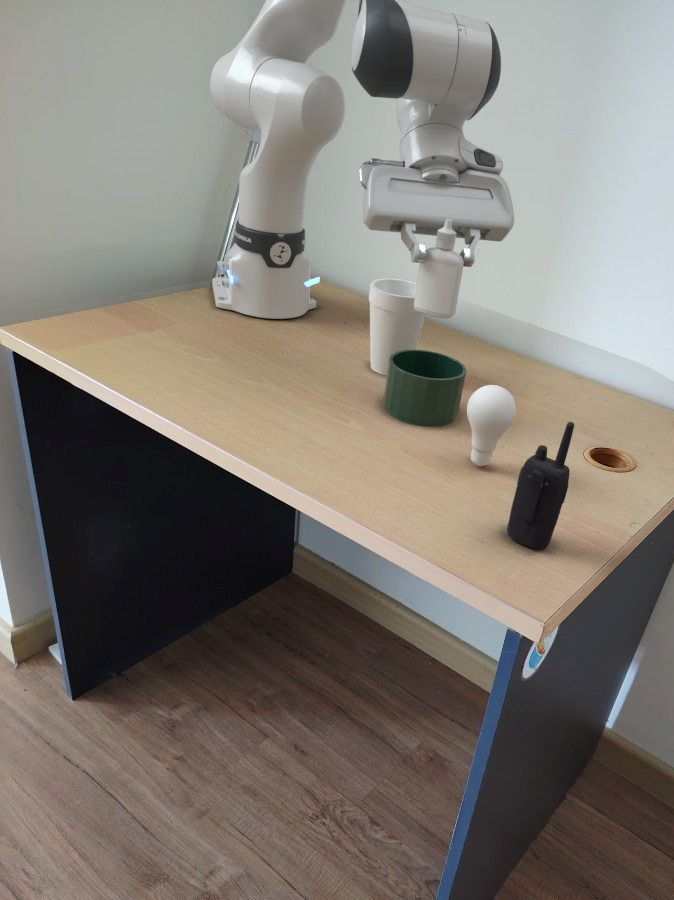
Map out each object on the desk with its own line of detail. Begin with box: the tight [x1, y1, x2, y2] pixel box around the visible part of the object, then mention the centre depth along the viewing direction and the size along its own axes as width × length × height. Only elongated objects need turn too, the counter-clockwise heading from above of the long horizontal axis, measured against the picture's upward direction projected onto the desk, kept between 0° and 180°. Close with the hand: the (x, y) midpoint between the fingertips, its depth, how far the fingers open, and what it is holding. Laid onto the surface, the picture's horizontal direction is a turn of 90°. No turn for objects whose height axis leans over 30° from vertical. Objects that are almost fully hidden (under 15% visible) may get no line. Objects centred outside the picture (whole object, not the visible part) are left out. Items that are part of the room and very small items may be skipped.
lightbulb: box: [466, 384, 517, 468], centre depth 96 cm, size 6×6×11 cm
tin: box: [382, 349, 468, 427], centre depth 109 cm, size 11×11×7 cm
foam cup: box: [368, 277, 427, 376], centre depth 119 cm, size 10×9×13 cm
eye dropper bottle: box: [414, 219, 464, 319], centre depth 100 cm, size 4×6×12 cm
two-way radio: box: [506, 421, 575, 550], centre depth 81 cm, size 6×4×15 cm
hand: (443, 262), depth 99 cm, fingers closed on eye dropper bottle, 5 cm apart
